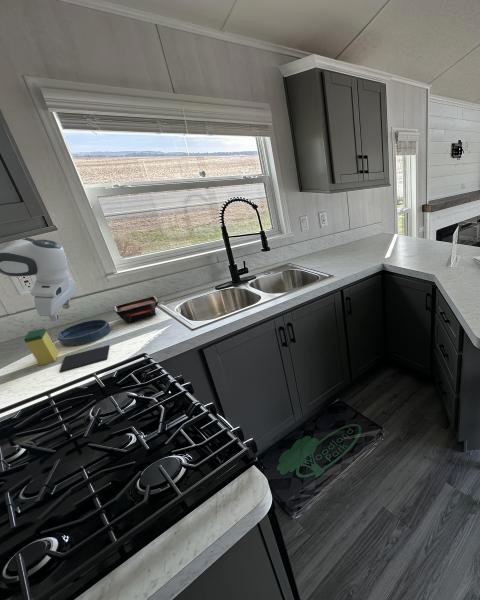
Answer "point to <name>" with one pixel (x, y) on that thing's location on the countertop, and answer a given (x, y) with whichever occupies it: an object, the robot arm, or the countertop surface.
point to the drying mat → (84, 358)
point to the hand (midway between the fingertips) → (60, 313)
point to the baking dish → (137, 309)
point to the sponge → (41, 346)
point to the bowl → (83, 332)
